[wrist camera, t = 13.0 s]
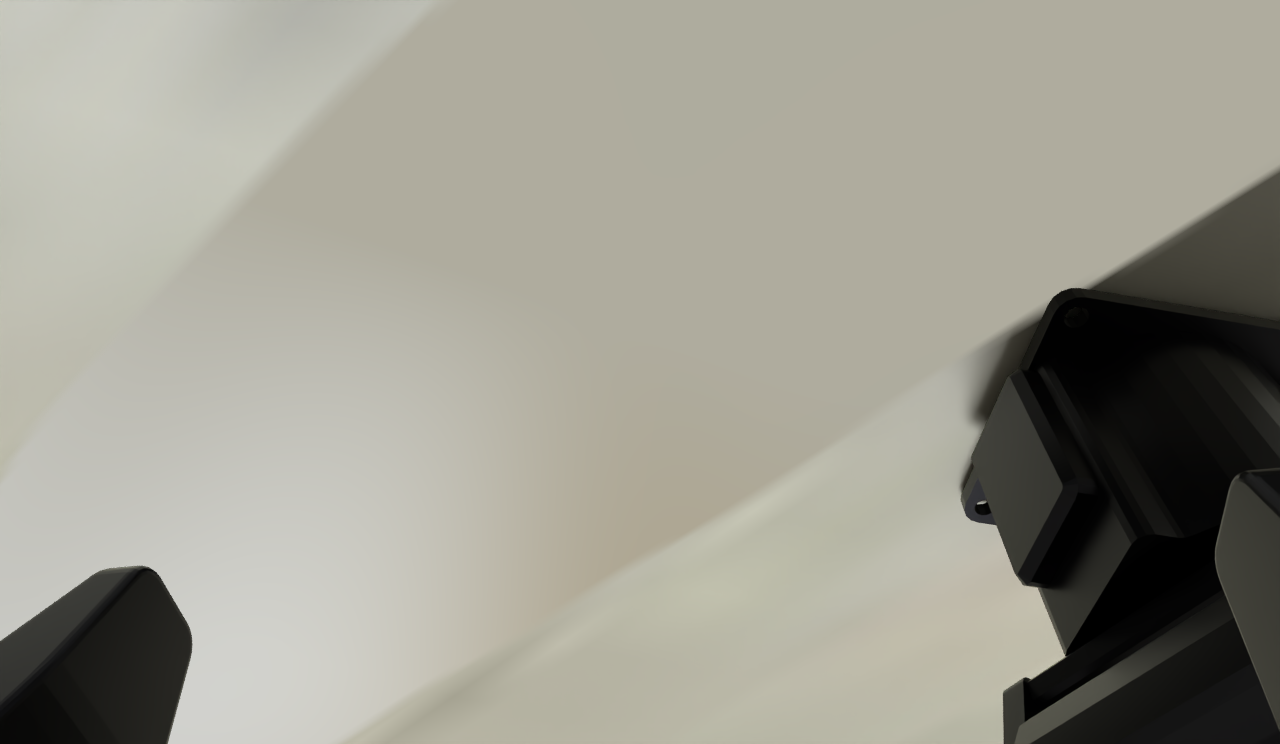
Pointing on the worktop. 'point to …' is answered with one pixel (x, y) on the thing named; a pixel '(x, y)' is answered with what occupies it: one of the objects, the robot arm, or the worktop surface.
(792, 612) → the worktop surface
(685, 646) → the worktop surface
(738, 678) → the worktop surface
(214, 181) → the worktop surface
